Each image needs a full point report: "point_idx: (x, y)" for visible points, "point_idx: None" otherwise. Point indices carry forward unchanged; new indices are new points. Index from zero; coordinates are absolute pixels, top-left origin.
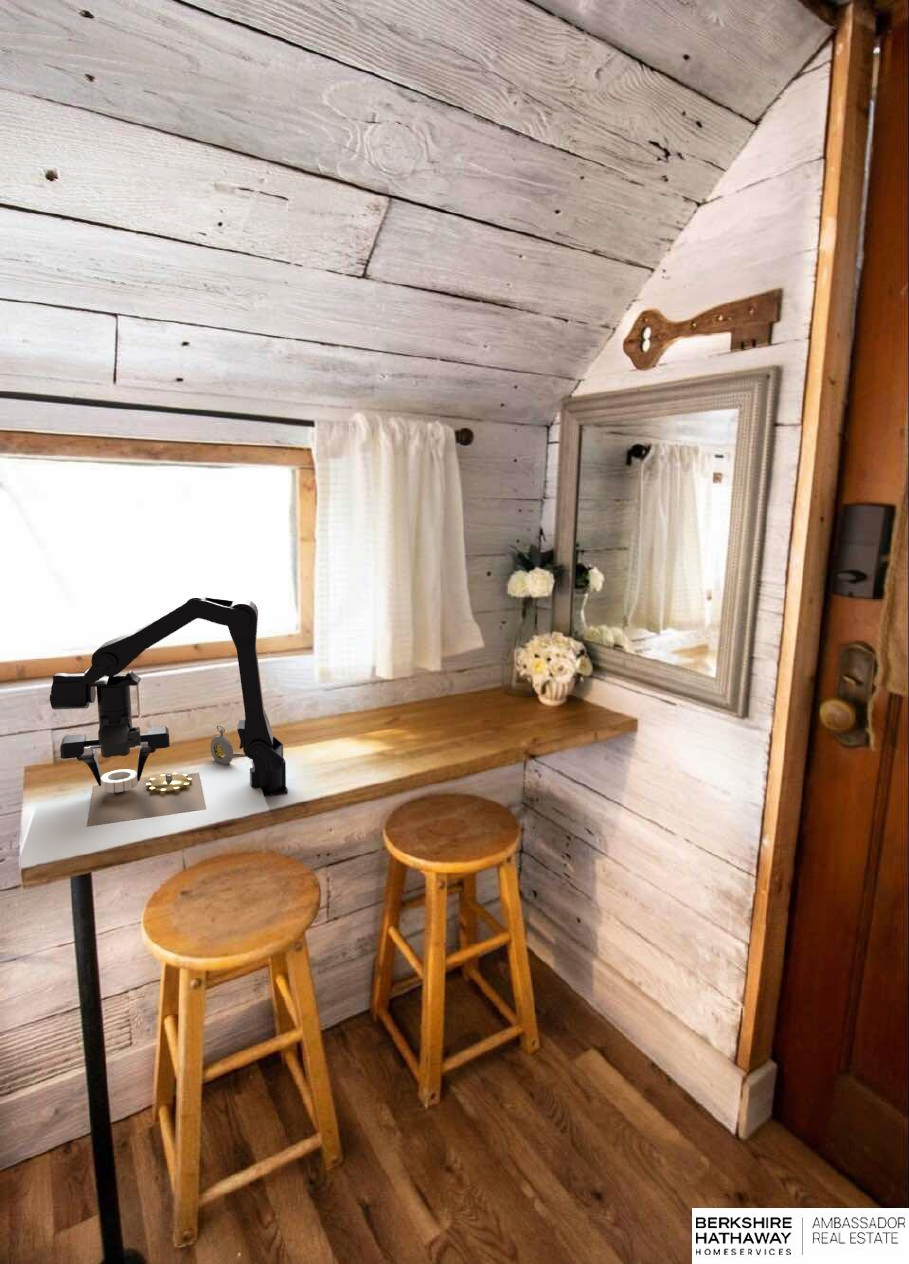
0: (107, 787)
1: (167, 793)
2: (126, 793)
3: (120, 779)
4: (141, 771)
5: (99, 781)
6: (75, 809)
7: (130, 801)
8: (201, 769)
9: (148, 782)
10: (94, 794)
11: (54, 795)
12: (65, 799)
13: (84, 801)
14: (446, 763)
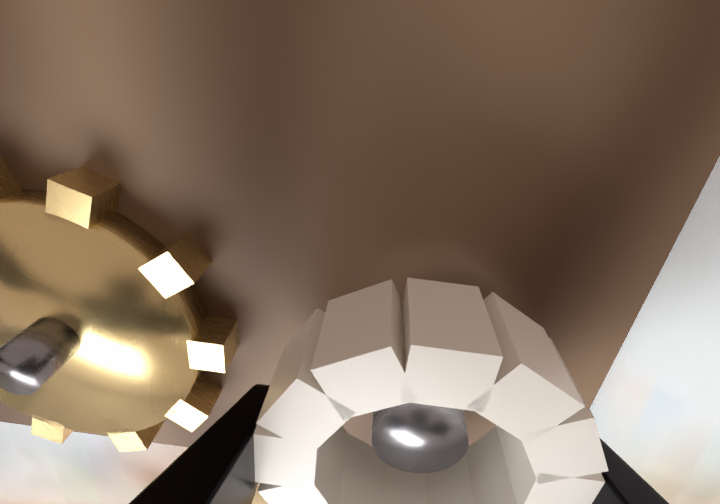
0: (551, 354)
1: None
2: None
3: (408, 446)
4: (188, 455)
5: (608, 463)
6: (699, 305)
7: (361, 162)
8: (4, 467)
9: None
10: None
11: (710, 500)
12: (685, 444)
13: (607, 383)
14: None
